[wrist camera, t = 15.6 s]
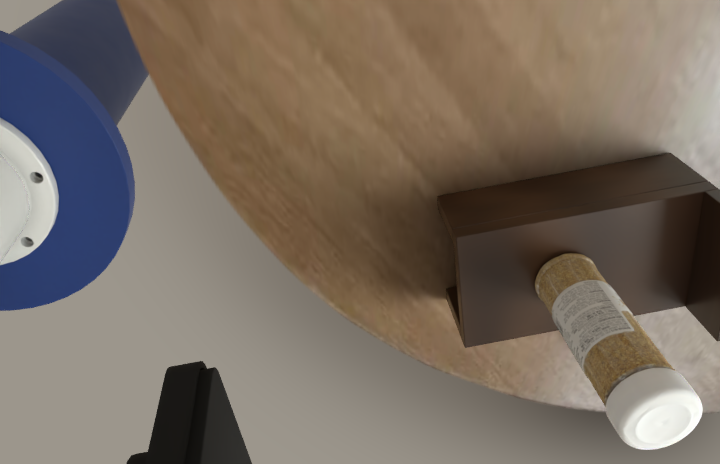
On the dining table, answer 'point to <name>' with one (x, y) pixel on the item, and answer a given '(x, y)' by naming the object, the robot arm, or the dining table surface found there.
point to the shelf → (585, 244)
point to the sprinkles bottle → (617, 355)
